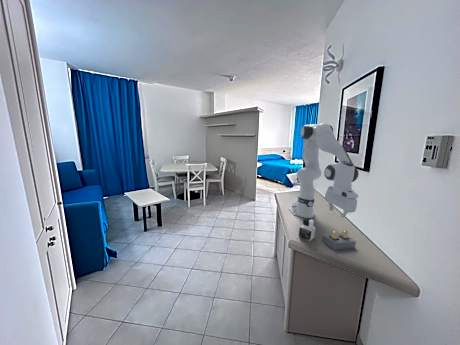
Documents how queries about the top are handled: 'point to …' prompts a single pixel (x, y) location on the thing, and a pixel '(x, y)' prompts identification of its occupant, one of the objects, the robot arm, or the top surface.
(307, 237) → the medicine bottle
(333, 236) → the pin
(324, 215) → the top surface
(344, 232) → the pin
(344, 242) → the block
